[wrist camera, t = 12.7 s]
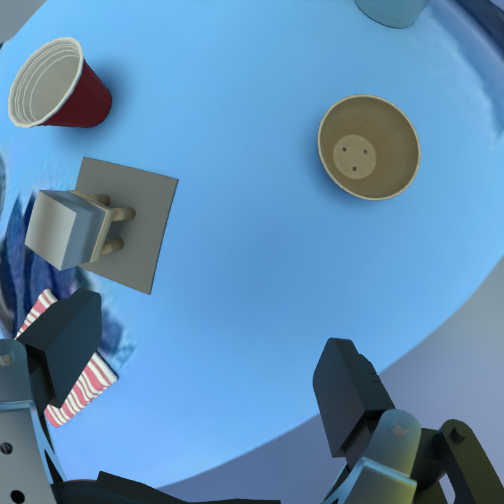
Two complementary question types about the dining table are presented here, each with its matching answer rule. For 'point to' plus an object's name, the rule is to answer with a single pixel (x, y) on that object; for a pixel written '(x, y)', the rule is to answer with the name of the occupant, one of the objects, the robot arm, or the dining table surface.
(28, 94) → the plastic cup
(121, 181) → the mat
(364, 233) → the dining table surface
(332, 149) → the flower pot
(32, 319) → the dish towel
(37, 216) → the stool
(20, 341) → the robot arm
